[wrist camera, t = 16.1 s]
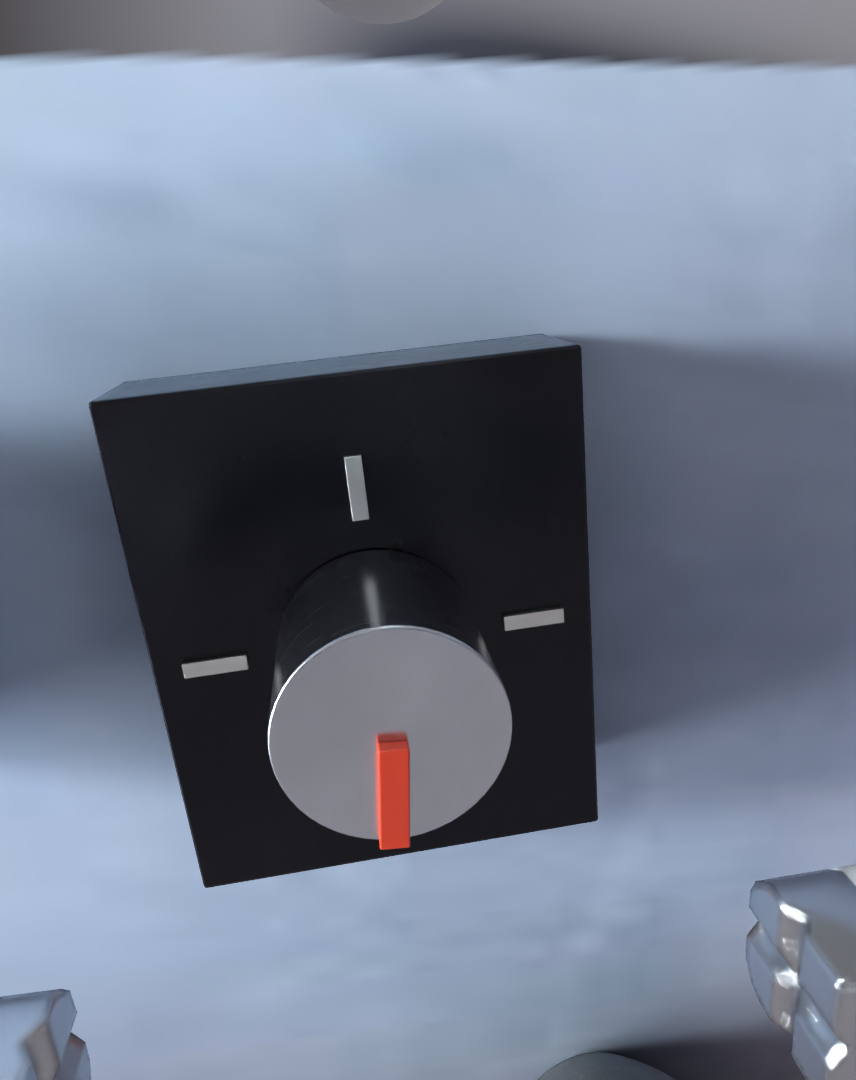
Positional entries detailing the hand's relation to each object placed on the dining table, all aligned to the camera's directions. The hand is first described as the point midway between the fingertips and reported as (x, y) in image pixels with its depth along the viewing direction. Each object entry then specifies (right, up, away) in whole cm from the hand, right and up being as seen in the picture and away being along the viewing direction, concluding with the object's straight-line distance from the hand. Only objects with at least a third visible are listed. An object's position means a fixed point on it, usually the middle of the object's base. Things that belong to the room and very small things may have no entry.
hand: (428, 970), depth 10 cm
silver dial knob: (-1, +3, +9) cm, 9 cm away
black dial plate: (-2, +4, +11) cm, 12 cm away
